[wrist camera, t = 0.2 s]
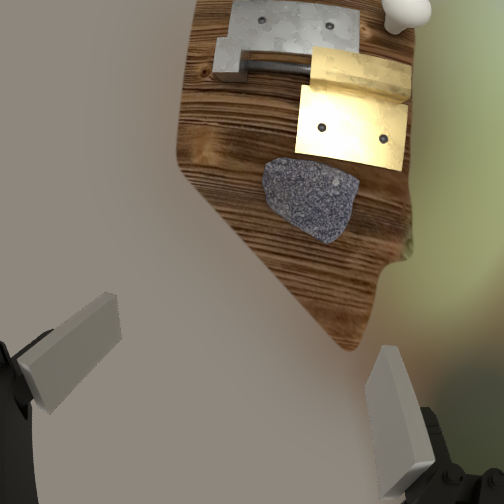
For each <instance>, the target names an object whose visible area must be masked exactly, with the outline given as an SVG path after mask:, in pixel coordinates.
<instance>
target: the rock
mask: <svg viewBox="0 0 504 504" xmlns="http://www.w3.org/2000/svg"><path fill="white" fill-rule="evenodd" d="M359 183H360V182H359V180H358V179H356V177H354V176H352V175H350V174H348V173H345V172H344V171H342V170H341V169H338V168H333V167H330V166H329V165H327V164H324V163H319V162H316V161H312V160H298V159H291V158H277V159H275V160H273V161H272V162H268V163H267V164H266V165H265V170H264V174H263V179H262V185H263V188H264V191H265V193H266V202H267V204H268V205H269V206H270V208H271V209H272V210H273V211H274V212H275V213H276V214H278V215H280V216H282V217H283V218H284V219H285V220H286V221H289V222H290V224H292V225H293V226H296V227H299V229H301V230H302V231H304V232H306V233H308V234H310V235H312V236H313V237H315V238H316V239H318V240H319V241H321V242H323V243H325V244H328V243H331V242H333V241H334V240H335V239H337V238H338V237H339V236H340V235H341V234H342V232H343V231H344V230H345V228H346V226H347V224H348V221H349V220H350V216H351V212H352V208H353V207H352V203H353V200H354V198H355V196H356V194H357V192H358V186H359Z"/></svg>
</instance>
